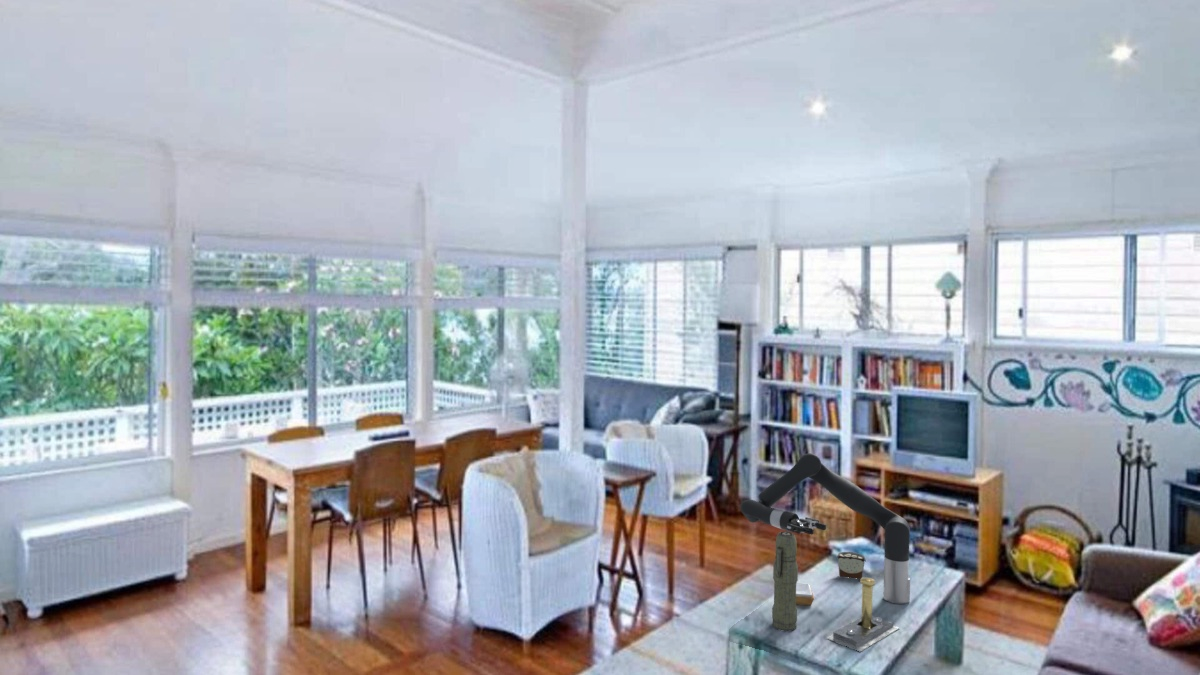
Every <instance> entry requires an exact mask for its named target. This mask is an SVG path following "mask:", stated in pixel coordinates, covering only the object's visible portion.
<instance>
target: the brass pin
mask: <svg viewBox="0 0 1200 675" xmlns="http://www.w3.org/2000/svg"><path fill="white" fill-rule="evenodd" d="M859 581H860V582H859V583H860V584H861V585H862V586H861V587H862V588H861V590H862V591H861V614H860V615H861V616H860V618H861V626H862V627H865V628H867V629H872V616H873V593H874V592H873V591H874V590H873V589H874V586H875V585H876V580H875V579H873V578H871V577H862V578H861V579H860V580H859Z"/></svg>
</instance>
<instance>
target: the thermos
mask: <svg viewBox="0 0 1200 675" xmlns="http://www.w3.org/2000/svg"><path fill="white" fill-rule="evenodd" d="M797 544H798V541H797V538H796V535H795V534H794V532H790V531H779V532H778V533H777V535H776V539H775V548H774V549H775V552H774V553H775V558H774V562H773V565H772V566H773V569H772V572H773V573H772V579H773V582H774V583H773V585H774V586H773V589H774V590H773V606H772V608H771V609H772V610H771V612H772V614H771V616H772V617H771V618H772V624H771V625H772V627H773V628H774V627H775V628H774V629H776V630H778V631H781V630H784V631H783V632H793V631H796V630H797V621H798V608H797V604H796V583H798V580H799V579H798V577H799V576H798V575H799V574H798V573H799V565H798V563H797V552H798V550H797V549H798V548H797V547H798V546H797ZM792 630H793V631H792Z"/></svg>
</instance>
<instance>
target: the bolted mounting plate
mask: <svg viewBox="0 0 1200 675" xmlns="http://www.w3.org/2000/svg"><path fill="white" fill-rule="evenodd" d="M899 628H900V627H898V626H896V625H894V623H892V622H891V621H887V620H884V619H882V618H881V617H880V616H873V615H872V629H867V628H865V627H862V626H861V617H859V618H857V619H855V620H854V621H852V622H850V623H848V624H846V625H844V626H842V627H841V628H839V629H836V630H835V631H833V633H832V634H831V635H829V636H827V637H826V640H828V639H829V640H828V641H831V640H832V642H833V641H835V642H834V643H836V642H837V643H836V644H838V643H840V644H839V645H841V644H842V645H841V646H843V645H845V646H844V647H846V646H847V647H846V648H848V647H849V649H851V648H852V649H851V650H853V649H855V650H854V651H856V650H857V651H856V652H858V651H859V652H858V653H861V652H863V651H864V649H865V650H866V649H868V648H870V647H871V646H873V645H875V644H876V643H878V642H879V641H881V640H883V639H885V638H886V636H887V637H889V636H890V635H892V634H893V633H895V632H896V630H897V631H899V630H900V629H899ZM891 633H892V634H891ZM874 643H875V644H874ZM869 646H870V647H869ZM867 647H868V648H867Z"/></svg>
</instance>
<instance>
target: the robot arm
mask: <svg viewBox="0 0 1200 675" xmlns="http://www.w3.org/2000/svg"><path fill="white" fill-rule="evenodd" d="M808 478H810V479H811V480H813V481H814V482H816V483H818V484H819V485H820V486H822V487H823V488H824V489H826V490H827V491H828V492H829V493H830V494H831V495H832V496H834V497H835V498H836V499H837V500H839V502H841V503H842V504H844V505H845V506H846V507H847V508H849V509H850V510H852V511H854V512H856V513H858V514H860V515H862V516H865V517H867V518H868V519H870V520H872V521H873V522H875V523H876V524H878V525H879V526H880V527H881V528H882V529H884V545H883V546H884V554H883V555H884V560H883V561H884V563H883V564H884V566H883V593H882V595H883V600H885V601H887V602H889V603H892V604H898V605H899V604H900V605H902V604H906V603H910V600H911V599H910V598H911V579H910V577H909V567H910V566H909V565H910V534H911V527H910V524H909V522H908V521H907V520H906V519H905V518H904V517H902V516H900V515H899V514H897V513H895V512H893V511H892V510H890V509H889V508H887V507H885V506H884V505H882V504H881V503H880V502H878V500H876V499H875V498H874V497H872V496H871V495H870V494H868V493H867V492H866V491H865V490H864V489H862V488H860V487H859V486H858V485H857V484H856V483H854V482H852V481H850V480H848V479H847V478H844V477H843V476H841V475H839V474H837V473H835V472H833V471H831V469H829V468H828V467H827V466H826V465H825V464H824V463H822V460H821V459H820V457H819V456H818V455H817V454H814V453H809V452H808V453H804V454H803V455H802V456H801V457H800V458H799V459H798V461H797V462H796V463H795V464H794V465H793V467H792V468H790V469H789V470H788V471H787V472H786V473H785V474H783V475H782V476H780V477H779V478H778V479H776V480H775V481H774V482H772V483H771V484H770V485H768V486H766V488H765V489H763V490H762V491H761V492H760V493H759V494H758V499H759V500H758V501H756V500H754V499H745V500H743V501H742V502H741V504H740V507H739V508H740V511H741V514H743V516H744V518H746V520H748V521H749V522H750V523H757V522H762V523H763V524H766V525H768V526H772V527H775V528H777V529H780V530H783V531H786V532H791V533H796V534H804V533H805V534H809V535H811V536H812V535H814V534H815V532H814V530H815V529H818V530H820V531H821V530H822V531H826V530H827V525H826V524H825V523H822V522H820V520H819V519H815V518H812V517H811V518H810V517H807V516H806V517H805V518H800V517H799V516H798V514H797V513H795V512H792V511H788V510H785V509H779V508H774V507H772V506H774V505H775V504H777V503H778V502H779V501H780V500H781V499H782V498H783V497H785V496H786V495H787V494H788V493H790V491H791V490H793V489H794V487H796V486H797V485H798V484H800V483H801V482H802V481H804V480H806V479H808Z"/></svg>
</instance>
